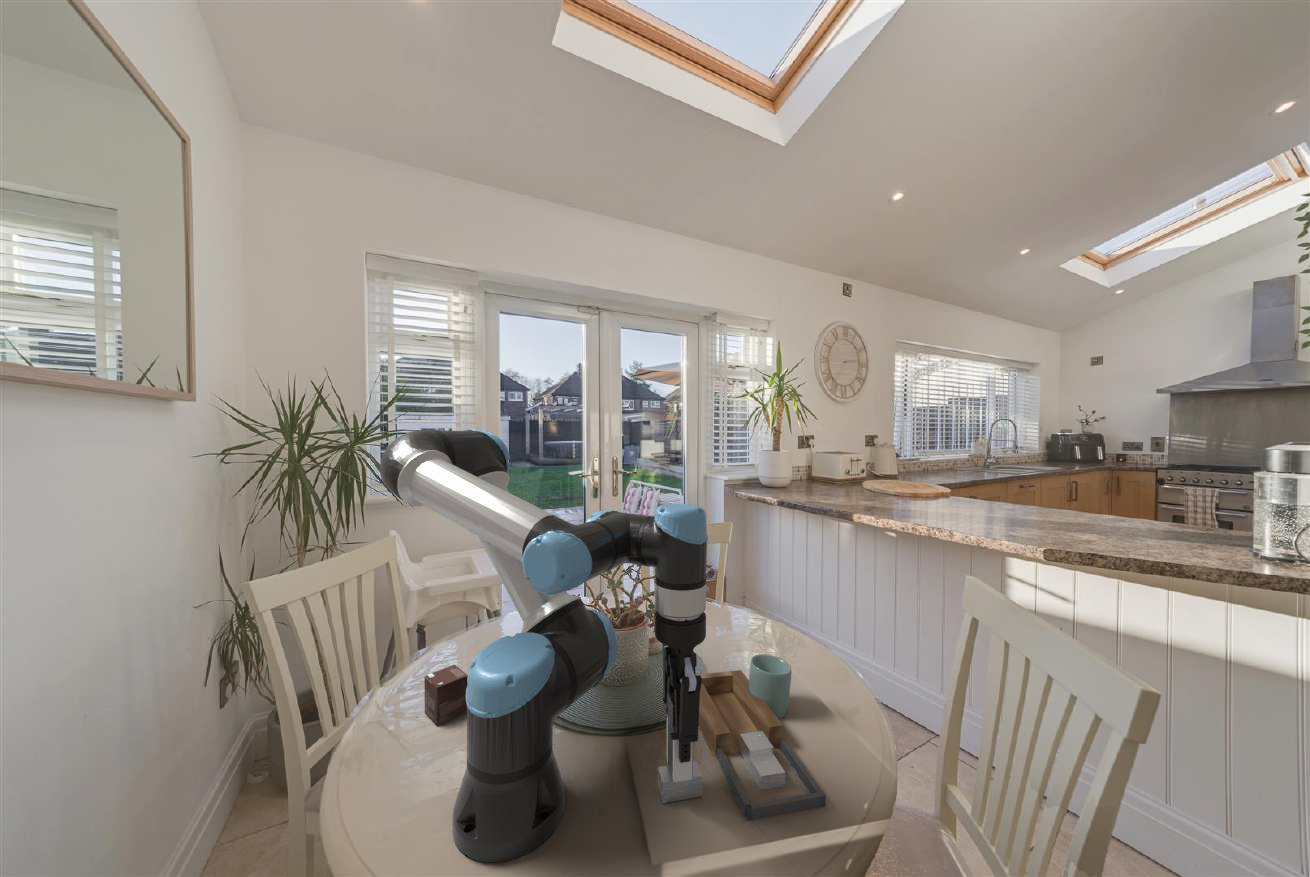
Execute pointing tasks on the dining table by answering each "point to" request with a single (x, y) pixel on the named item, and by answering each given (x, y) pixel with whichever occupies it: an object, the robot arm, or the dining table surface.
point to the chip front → (767, 771)
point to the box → (445, 694)
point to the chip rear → (754, 745)
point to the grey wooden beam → (665, 773)
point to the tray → (778, 805)
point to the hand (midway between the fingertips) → (678, 769)
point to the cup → (771, 682)
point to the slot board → (733, 712)
